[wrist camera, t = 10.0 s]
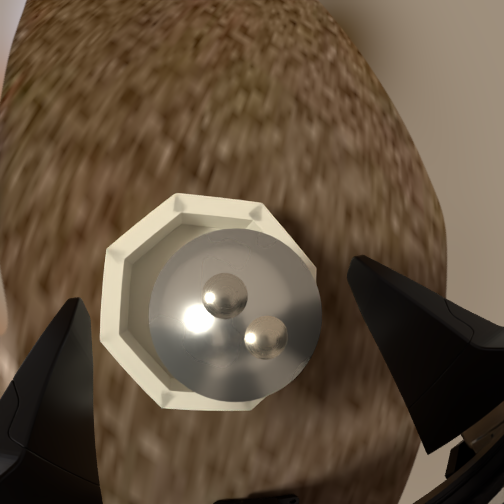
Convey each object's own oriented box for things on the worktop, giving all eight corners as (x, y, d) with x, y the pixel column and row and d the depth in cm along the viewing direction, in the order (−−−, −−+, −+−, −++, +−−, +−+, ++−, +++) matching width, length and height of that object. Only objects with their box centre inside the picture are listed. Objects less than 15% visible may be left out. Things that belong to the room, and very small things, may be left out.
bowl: (286, 390, 18) (307, 407, 15) (114, 383, 16) (100, 400, 12) (294, 225, 20) (317, 210, 17) (127, 207, 18) (116, 187, 14)
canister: (253, 331, 17) (342, 367, 7) (181, 353, 16) (182, 425, 6) (232, 259, 18) (297, 209, 8) (159, 279, 16) (127, 251, 7)
